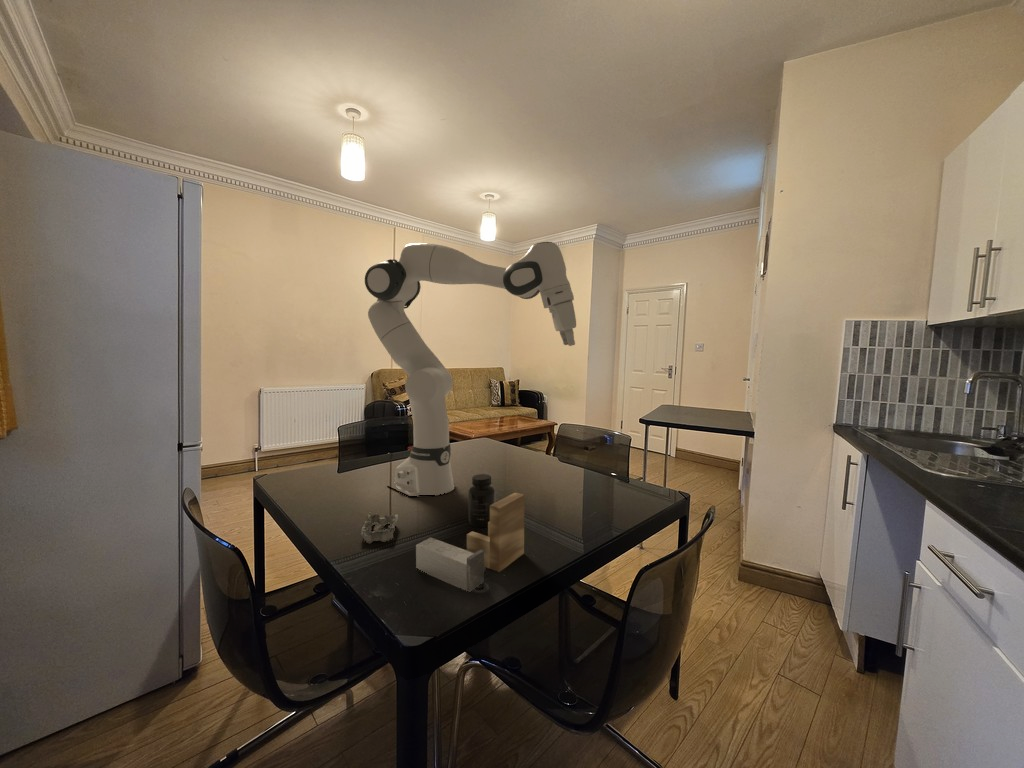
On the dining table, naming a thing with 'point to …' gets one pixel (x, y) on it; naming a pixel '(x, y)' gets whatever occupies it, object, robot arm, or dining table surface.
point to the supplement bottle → (480, 500)
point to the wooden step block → (501, 533)
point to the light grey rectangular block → (451, 563)
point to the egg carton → (379, 527)
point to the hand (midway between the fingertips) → (569, 345)
